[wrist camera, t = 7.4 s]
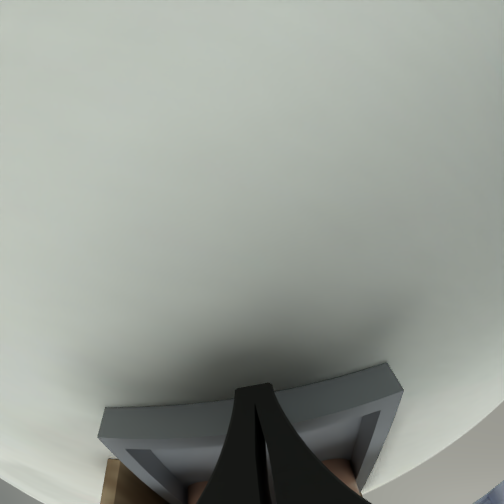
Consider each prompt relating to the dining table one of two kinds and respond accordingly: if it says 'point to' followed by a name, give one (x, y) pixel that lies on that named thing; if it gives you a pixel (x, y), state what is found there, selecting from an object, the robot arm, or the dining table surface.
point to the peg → (195, 491)
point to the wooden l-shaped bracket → (127, 487)
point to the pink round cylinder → (342, 472)
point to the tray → (300, 416)
